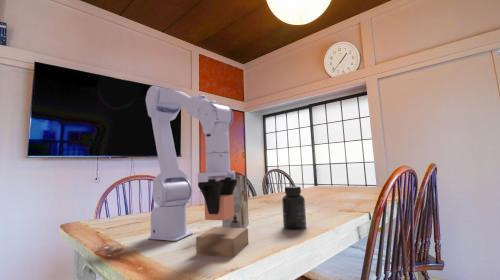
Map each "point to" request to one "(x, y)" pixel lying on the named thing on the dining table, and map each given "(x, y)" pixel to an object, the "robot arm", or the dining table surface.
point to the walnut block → (222, 241)
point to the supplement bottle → (293, 209)
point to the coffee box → (239, 205)
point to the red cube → (222, 209)
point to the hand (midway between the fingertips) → (219, 211)
